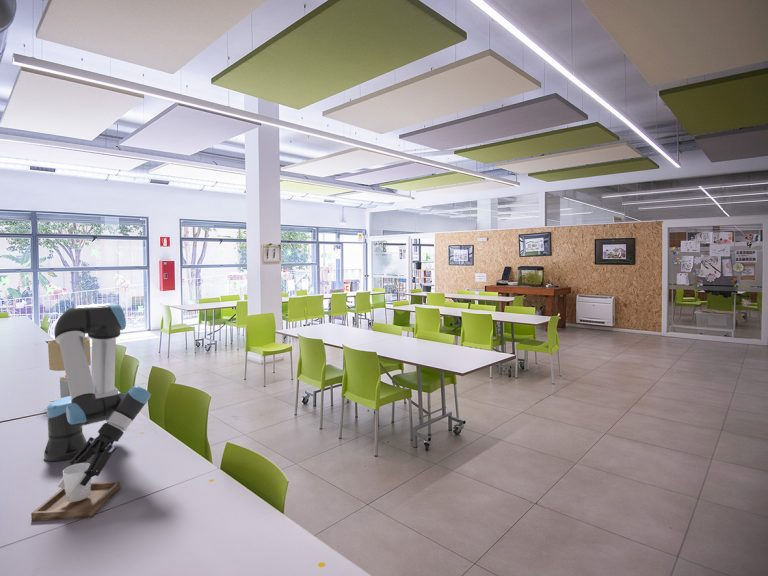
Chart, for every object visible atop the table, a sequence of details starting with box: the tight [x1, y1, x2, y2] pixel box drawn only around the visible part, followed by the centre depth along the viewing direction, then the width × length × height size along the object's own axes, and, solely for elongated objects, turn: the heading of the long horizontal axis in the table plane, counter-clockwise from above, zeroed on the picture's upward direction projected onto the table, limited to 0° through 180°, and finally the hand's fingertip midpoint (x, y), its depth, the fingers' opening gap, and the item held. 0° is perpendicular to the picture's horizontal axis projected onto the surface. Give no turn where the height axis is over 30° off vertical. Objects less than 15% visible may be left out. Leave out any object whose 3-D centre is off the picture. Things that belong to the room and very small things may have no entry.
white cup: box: [62, 462, 92, 502], centre depth 147 cm, size 8×8×10 cm
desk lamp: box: [47, 336, 92, 403], centre depth 251 cm, size 20×20×35 cm
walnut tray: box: [30, 480, 121, 522], centre depth 147 cm, size 18×18×2 cm
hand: (66, 491), depth 144 cm, fingers closed on white cup, 8 cm apart
